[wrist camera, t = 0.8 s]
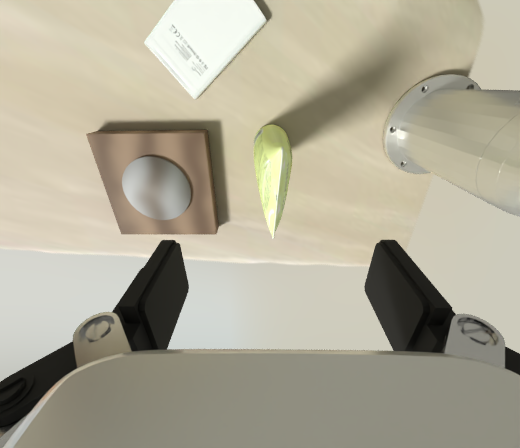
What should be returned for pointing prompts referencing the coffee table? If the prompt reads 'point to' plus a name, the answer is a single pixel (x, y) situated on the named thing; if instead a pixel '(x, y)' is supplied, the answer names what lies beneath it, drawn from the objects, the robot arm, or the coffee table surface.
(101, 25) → the coffee table surface
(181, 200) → the walnut base
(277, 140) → the tube
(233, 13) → the external hard drive
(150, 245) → the coffee table surface
